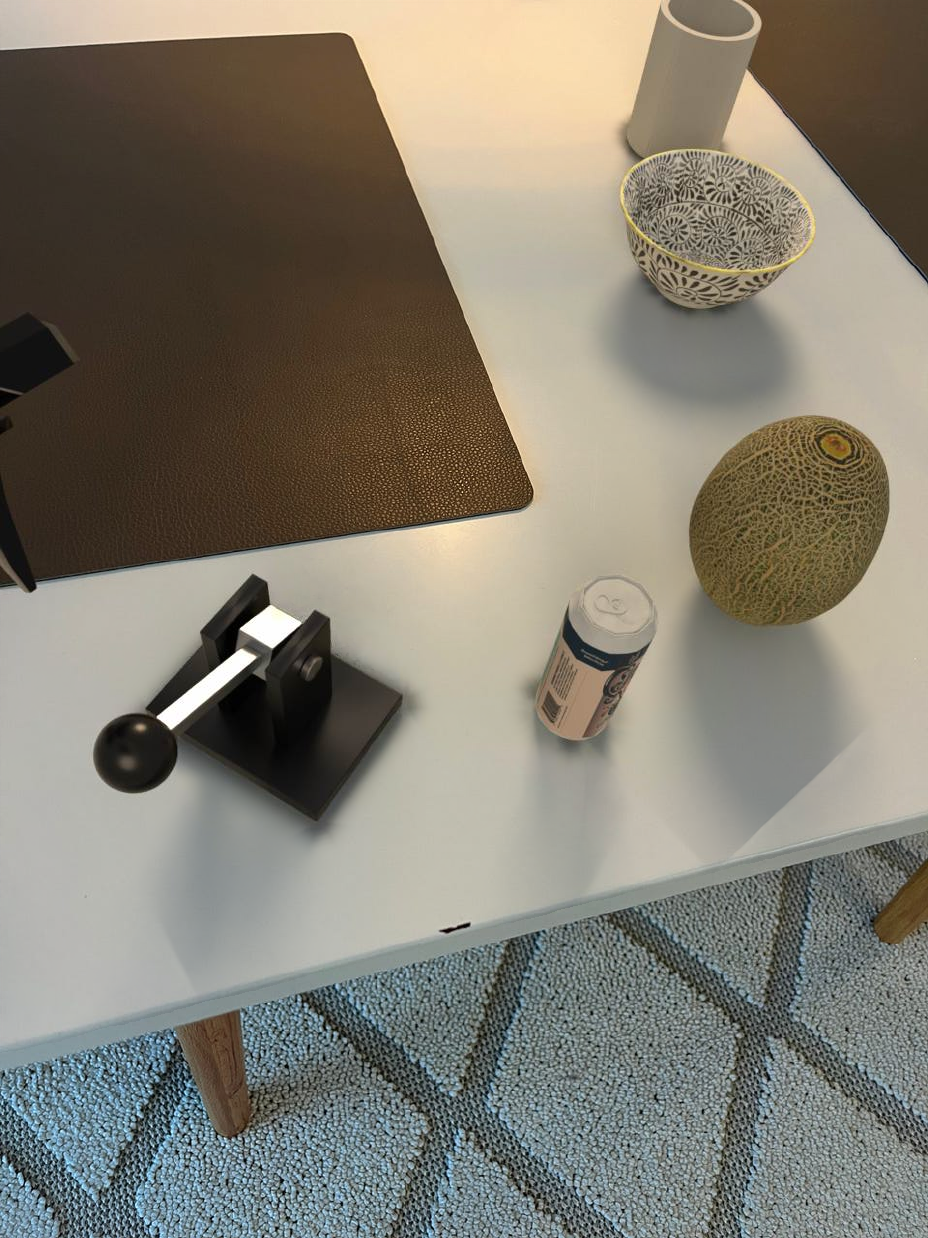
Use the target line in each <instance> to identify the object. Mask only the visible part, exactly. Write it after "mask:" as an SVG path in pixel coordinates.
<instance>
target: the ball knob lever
mask: <svg viewBox="0 0 928 1238" xmlns="http://www.w3.org/2000/svg"><path fill="white" fill-rule="evenodd" d="M303 623H304V622H302V621H300V620H298V619H297V618H295V617H293V616H291V615H289V614H288V613H286V612H285V611H283V610H282V609H279V608H277V607H276V606H274V605H272V604H270V605H269V606H267V607H266V608H265V609H264V610H262V611H261V612H260V613H259V614H257V615H256V616H255V617H253V618H252V619H251V620H250V621H248V622H247V623H246V624H245V625H243V626H242V627H241V628H239V630H238V636H237V642H236V648H235V653H234V654H233V655H232V656H230V657H229V658H228V659H227V660H225V661H224V662H223V663H222V664H220V665H219V666H218V667H217V668H216V669H214V670H213V671H212V672H211V673H209V674H208V675H207V676H206V677H204V678H203V679H202V680H201V681H200V682H198V683H197V684H196V685H195V686H193V687H192V688H191V689H190V690H188V691H187V692H186V693H185V694H184V695H182V696H181V697H180V698H179V699H177V700H176V701H175V702H174V703H172V704H171V705H170V706H169V707H168V708H166V709H165V710H164V711H163V712H161V713H160V714H159V715H158V716H156V717H155V716H153V715H149V714H147V713H144V712H131V713H130V712H129V713H125V714H122V715H119V716H118V717H116V718H114V719H112V720H110V721H109V722H108V723H107V724H106V725H105V726H103V728H102V729H101V730H100V732H99V734H97V737H96V739H95V741H94V745H93V749H92V757H93V758H92V759H93V760H92V761H93V766H94V769H95V771H96V773H97V774H98V776H99V778H100V779H101V780H102V781H103V782H104V783H105V784H106V785H107V786H108V787H110V789H111V788H112V789H113V790H115V791H117V792H120V793H124V794H131V795H132V794H134V795H135V794H143V793H147V792H150V791H152V790H155V789H156V788H158V787H160V786H161V785H162V784H163V783H165V781H167V780H168V778H169V777H170V776H171V774H172V773H173V771H174V769H175V766H176V764H177V761H178V755H179V750H178V742H177V738H179V737H180V735H181V734H182V733H183V732H184V731H185V730H187V729H188V728H189V727H190V726H191V725H192V724H194V723H195V722H196V721H197V720H198V719H199V718H201V717H202V716H203V715H204V714H205V713H206V712H208V711H209V710H210V709H211V708H212V707H213V706H215V705H216V704H217V703H218V702H219V701H220V700H222V699H223V698H224V697H225V696H226V695H227V694H229V693H230V692H231V691H232V690H233V689H234V688H236V687H237V686H238V685H239V684H240V683H241V682H243V681H244V680H245V679H246V678H247V677H248V676H250V675H251V674H252V673H253V674H255V675H256V676H258V677H260V678H261V679H263V680H265V681H266V678H265V669H266V667H267V666H268V665H269V664H270V663H271V661H272V660H273V659H274V658H275V657H276V655H277V654H278V653H279V652H280V651H281V650H282V648H283V647H284V646H285V645H286V644H287V642H288V641H289V640H290V639H291V638H292V636H293V635H294V634H295V633H296V632H297V630H298V629H299V628H300V627H301V626H302V624H303Z"/></svg>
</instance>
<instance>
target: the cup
mask: <svg viewBox="0 0 928 1238" xmlns="http://www.w3.org/2000/svg"><path fill="white" fill-rule="evenodd" d="M762 24H763V23H762V19H761V17H760V15H759V13H758V12H757V11H756V10H755V9H754V8H753V6H751V5H749V4H748V3H747V2H745V1H743V0H661V1H660V4H659V7H658V11H657V16H656V20H655V23H654V28H653V32H652V35H651V38H650V44H649V47H648V51H647V55H646V58H645V62H644V66H643V70H642V74H641V76H640V77H641V78H640V82H639V84H638V89H637V92H636V97H635V101H634V105H633V109H632V113H631V116H630V119H629V124H628V128H627V131H626V138H627V142H628V144H629V146H630V148H631V149H632V150H633V151H634V152H635V153H636V154H637V155H638V156H640V157H641V158H643V160H644V159H646V158H648V157H651V156H653V155H656V154H659V153H663V152H667V151H673V150H680V149H704V150H713V151H719V149H720V147H721V145H722V141H723V138H724V135H725V132H726V129H727V127H728V124H729V121H730V118H731V115H732V112H733V109H734V107H735V104H736V101H737V98H738V96H739V92H740V90H741V87H742V83H743V80H744V78H745V76H746V72H747V69H748V66H749V63H750V62H751V61H750V60H751V58H752V54H753V52H754V50H755V46H756V43H757V40H758V38H759V34H760V32H761V29H762Z"/></svg>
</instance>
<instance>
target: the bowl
mask: <svg viewBox="0 0 928 1238" xmlns="http://www.w3.org/2000/svg"><path fill="white" fill-rule="evenodd" d="M619 200H620V202H619V203H620V206H621V210H622V213H623V215H624V219H625V226H626V234H627V240H628V245H629V248H630V252H631V254H632V256H633V258H634V261H635V263H636V264H637V267H638V268H639V270H640V271H641V272H642V274H643V275H644V276H645V277H646V278H647V280H649V281H650V282H651V283H652V284H653V285H654V286H655V287H656V289H657V290H658V292H659V293H660V294H661V295H662V296H663V297H665V298H666V299H668V300H669V301H671V302H672V303H675V304H676V305H679V306H682V307H686V308H690V309H699V310H701V309H710V308H711V309H712V308H715V307H717V306H724V305H730V304H735V303H739V302H742V301H745V300H746V299H749V298H752V297H753V296H755V295H757V294H759V293H760V292H762V291H764V290H765V289H766V288H768V287H769V286H771V284H772V283H773V282H775V281H776V280H777V279H778V278H779V277H780V276H781V275H782V274H783V273H784V272H785V271H786V270H788V268H789V267H790V266H791V265H792V264H795V262H797V261H798V260H799V259H801V258H802V257H803V256H804V255H805V254H806V253H807V252H808V251H809V249H810V248H811V246H812V244H813V242H814V239H815V235H816V221H815V217H814V213H813V212H812V209H811V207H810V205H809V203H808V201H807V200H806V199H805V197H804V196H803V195H802V194H801V193H800V192H799V191H798V190H797V188H796V187H794V185H792V184H791V183H790V182H789V181H787V179H785V178H784V177H782V176H781V175H779V174H778V173H776V172H775V171H773V170H771V169H769V168H768V167H766V166H764V165H762V164H759V163H757V162H755V161H753V160H751V159H748V158H745V157H742V156H738V155H735V154H733V153H732V154H731V153H727V152H722V151H719V150H718V151H713V150H704V149H680V150H673V151H667V152H663V153H659V154H656V155H653V156H651V157H648V158H646V159H644V158H643V159H642V160H641V161H639V162H637V163H636V164H634V165H633V166H632V167H631V169H629V170H628V171H627V173H626V174H625V176H624V178H623V179H622V182H621V185H620V191H619Z"/></svg>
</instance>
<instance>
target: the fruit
mask: <svg viewBox="0 0 928 1238" xmlns="http://www.w3.org/2000/svg"><path fill="white" fill-rule="evenodd" d="M890 495H891V494H890V480H889V474H888V469H887V466H886V463H885V461H884V459H883V456H882V454H881V452H880V451H879V449H878V448H877V446H876V445H875V444H874V443H873V441H872V440H871V439H870V438H869V437H868V436H866V434H865V433H864V432H863V431H861V430H859V429H858V428H857V427H854V426H853V425H851V424H849V423H847V422H845V421H843V420H841V419H838V418H835V417H830V416H824V415H816V414H806V415H799V416H792V417H789V418H783V419H780V420H777V421H774V422H771V423H768V424H766V425H764V426H762V427H760V428H758V429H757V430H754V431H752V432H751V433H749V434H747V435H746V436H745V437H743V438H742V439H741V440H739V442H737V443H736V444H735V445H734V446H732V447H731V448H730V449H728V451H726V452H725V453H724V455H723V456H722V457H721V459H720V460H719V461H718V463H717V464H715V466H714V467H713V469H712V470H711V471H710V473H709V474H708V476H707V477H706V479H705V481H704V482H703V484H702V485H701V488H700V489H699V491H698V493H697V495H696V497H695V500H694V503H693V506H692V509H691V514H690V518H689V527H688V542H689V543H688V544H689V552H690V557H691V561H692V563H693V564H692V565H693V568H694V572H695V575H696V576H697V579H698V581H699V584H700V585H701V587H702V588H703V591H704V592H705V593H706V595H707V596H708V598H709V599H710V600H711V602H713V604H714V605H715V606H716V607H717V608H718V609H719V610H720V611H722V612H723V613H724V614H726V615H727V616H728V617H730V618H733V619H735V620H737V621H740V622H742V623H745V624H748V625H751V626H756V627H783V626H784V627H785V626H793V625H798V624H802V623H805V622H807V621H810V620H813V619H816V618H817V617H820V616H821V615H823V614H825V613H827V612H828V611H830V610H832V609H834V608H835V607H837V606H838V605H839V604H840V603H842V602H843V601H844V600H845V599H846V598H847V597H848V596H849V595H850V594H851V593H852V592H853V590H854V589H855V588H856V587H857V586H858V585H859V584H860V583H861V582H862V580H863V578H864V577H865V575H866V573H867V571H868V569H869V567H870V566H871V564H872V562H873V560H874V558H875V557H876V554H877V552H878V550H879V547H880V545H881V543H882V540H883V537H884V535H885V532H886V527H887V524H888V520H889V514H890V505H891V503H890Z"/></svg>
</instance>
